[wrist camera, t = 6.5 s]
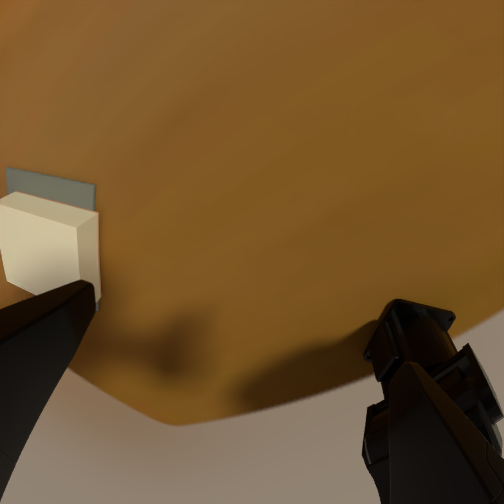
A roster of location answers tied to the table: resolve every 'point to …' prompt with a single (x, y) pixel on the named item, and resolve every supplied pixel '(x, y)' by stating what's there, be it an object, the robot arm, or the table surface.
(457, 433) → the robot arm
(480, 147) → the table surface
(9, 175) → the rubber mat
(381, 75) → the table surface
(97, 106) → the table surface
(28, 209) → the glazed tile
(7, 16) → the table surface
